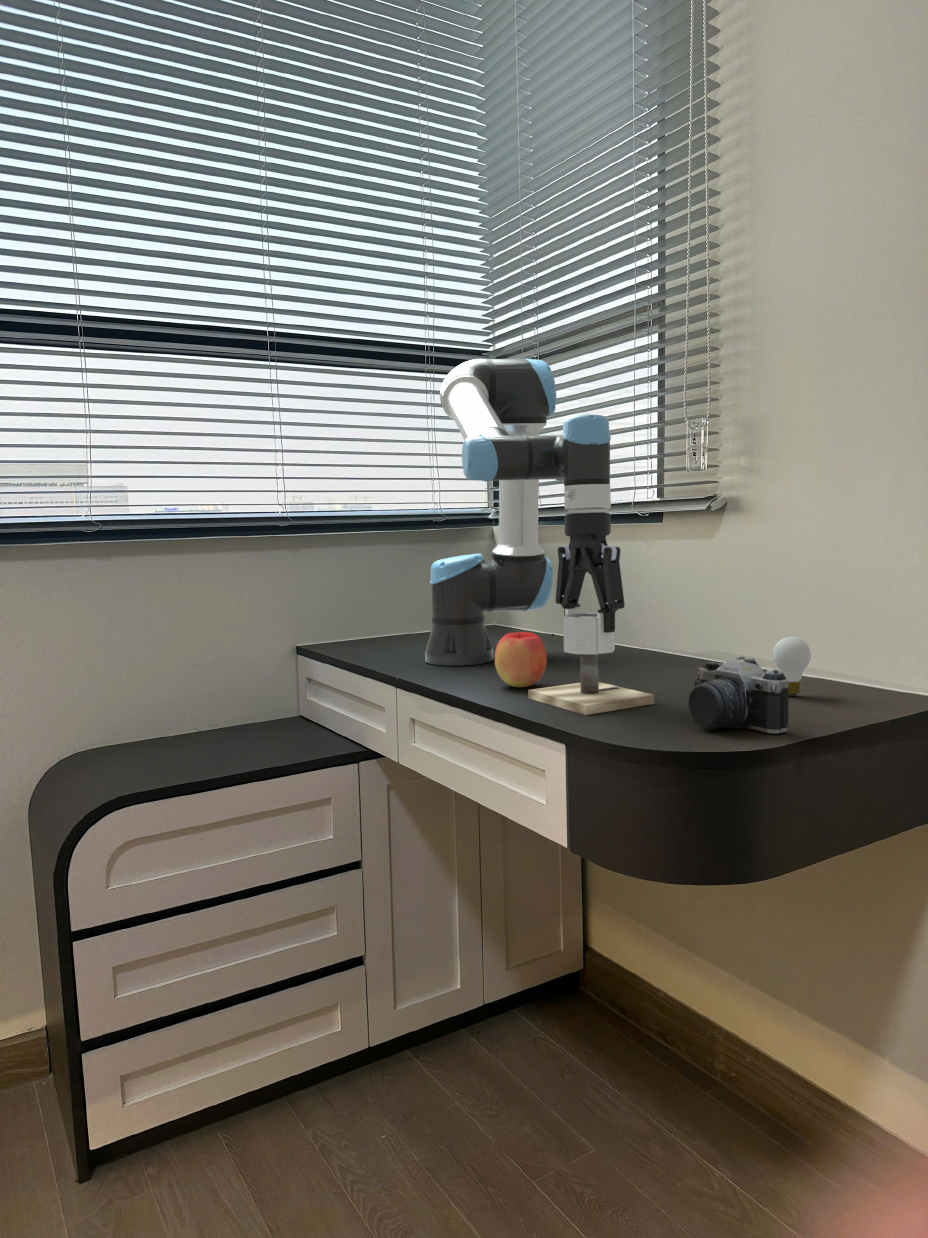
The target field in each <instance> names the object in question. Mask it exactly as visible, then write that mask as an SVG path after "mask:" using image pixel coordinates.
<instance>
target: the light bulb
mask: <svg viewBox="0 0 928 1238" xmlns="http://www.w3.org/2000/svg"><path fill="white" fill-rule="evenodd" d="M811 657H812V653H811V649H810V646H809V645H808V644H807V643H806V641H804V640H803V639H802V638H800V637H797V636H787V637H783V638H781V639H780V640H779V641H777V643H776V644H775V645H774V647H773V650H772V658H773V661H774V663H775V666H776V667H777V669H781V670H782V671H783V674H784V676H785V677H786V678H787V679H788V681H789V689H788V695H789V697H795V696H796V695H798V694H799V693H800V690H801V689H800V688H801V681H802V676H803V673H804V671H805V670H806V668H807V667H808V665H809V664H810V661H811Z"/></svg>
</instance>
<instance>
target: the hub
mask: <svg viewBox="0 0 928 1238" xmlns="http://www.w3.org/2000/svg"><path fill="white" fill-rule="evenodd" d="M597 613H598V612H581V613H572V614H566V615H564V614H563V616H562V617H563V621H562V622H563V623H562V625H563V653H566V654H567V653H568V654H574V655H580V654H598V655H602V654H603V655H604V654H605V653H598V626H597ZM615 649H616V648H615V645H614V651H615ZM611 653H613V652H607V653H606V654H611Z"/></svg>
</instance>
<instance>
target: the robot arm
mask: <svg viewBox="0 0 928 1238" xmlns="http://www.w3.org/2000/svg"><path fill="white" fill-rule="evenodd" d="M556 387H557V386H556V381H555V378H554V374H553V371H552V369H551V366H550V365H549V364H548V363H547V362H546V361H545V360H541V359H534V358H533V359H532V358H475V359H470V360H467V361H464V362H462V363H460V364H459V365H457V366H455V368H453V369H452V370H451V371H450V372H449V373H448V374H447V375H446V376H445V378H444V379H443V381H442V384H441V386H440V390H439V391H440V392H439V400H440V403H441V407H442V409H443V411H444V412H445V414H446V415H447V417H449V418H450V419H451V420H453V421H454V422H455V424H456V426H457V428H458V430H459V432H460V434H461V436H462V438H463V440H464V441H463V443H462V450H461V465H462V469H463V470H462V471H463V475H464V477H465V478H466V479H467V480H470V481H482V482H493V481H495V482H496V481H498V484H499V485H498V487H499V488H498V489H499V490H498V491H499V492H498V496H499V497H498V516H499V517H498V544H497V545H496V546H495V547H494V548H493V549H492V551H491V553H492V554H491V559H485V557H484V556H483V554H482V553H472V554H464V555H458V556H452V557H451V556H450V557H447V558H441V559H439V560H435V561H434V562H433V563H432V564H431V567H430V579H429V580H430V581H429V585H430V594H431V595H430V596H431V597H430V598H431V601H430V602H431V629H430V630H431V631H430V634H429V638H428V640H427V644H426V647H425V652H424V657H425V658H424V660H425V663H427V664H430V665H435V666H436V665H437V666H471V665H481V664H486V663H489V662H492V661H493V660H494V650H493V646H492V642H491V640H490V637H489V634H488V632H487V628H486V626H485V613H498V612H520V611H521V612H527V611H531V610H532V611H533V610H534V611H535V610H540V609H543V607H545V606H546V605H547V603H548V601H549V600H550V596H551V593H552V590H553V584H554V572H553V568H554V567H553V562H552V561H551V559H550V558H548V557H547V556H545V549H543V548H542V547H541V545H540V544H539V486H540V485H539V480H541V481H542V480H543V481H544V480H556V481H558V482H559V481H561V482H562V481H563V486H564V491H563V492H564V497H563V498H564V510H565V511H568V513H565V516H564V517H563V519H564V524H563V525H564V535H565V536H566V537H569V538H570V539H569V544H568V546H558V548H557V558H558V564H557V565H558V566H557V578H556V588H555V589H556V590H555V603H556V604H557V605H561V607H562V608H563V613H564V614H563V616H564V615H566V614H572V613H582V612H581V611H582V609H581V608H580V607H581V604H580V603H579V599H580V597H581V593H582V589H583V584H584V580H585V576H586V574H587V573H588V574H589V575H590V576H591V580H592V584H593V587H594V590H595V594H596V598H597V602H598V604H599V605H598V606H599V609H598V610H597V612H596V613H597V626H598V653H604V654H608V653H607V652H612V653H614V651H615V650H614V646H615V631H616V612H617V611H619V610H620V609H621V610H622V609H624V608H625V605H626V604H625V597H624V588H623V580H622V572H621V566H620V564H621V563H620V558H621V548H620V547H619V546H609V545H608V542H607V536H609V535H610V534H611V531H612V529H611V528H612V525H611V524H612V519H611V514H610V512H607V511H608V510H610V509H611V508H612V506H611V504H612V503H611V502H612V501H611V500H612V499H611V498H612V497H611V496H612V495H611V438H612V437H611V432H610V420H609V419H608V418H607V417H606V416H605V415H604V414H603V415H601V414H577V415H571V416H568V417H566V418H564V420H563V423H562V424H563V425H562V433H561V435H560V434H559V435H555V434H554V435H553V434H552V435H551V434H550V435H546V434H545V435H540V432H541V431H542V430H543V429H544V428H545V427H546V426H547V418H549V417H550V416H552V415H554V413H555V411H556V404H557V388H556Z"/></svg>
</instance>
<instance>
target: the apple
mask: <svg viewBox="0 0 928 1238" xmlns="http://www.w3.org/2000/svg"><path fill="white" fill-rule="evenodd" d="M547 659H548V658H547V651H546V646H545V643H544V642H543V640H542V638H541V637H539V636H538V635H537V634H536V633H533V632H527V631H520V632H518V631H517V632H508V633H506V634H505V635H503V636H502V637H501V638H500V640H498V642H497V644H496V647H495V651H494V666H495V667H494V668H495V670H496V672H497V674H498V677H500V678H501V680H502V681H503V682H504V683H506V684H507V685H508V686H510V687H513V688H528V687H531V686H532V685H534V684H535V683H537V682H539V680H541V678H542V677H543V675H544V673H545V671H546V668H547V662H548V660H547Z"/></svg>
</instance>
